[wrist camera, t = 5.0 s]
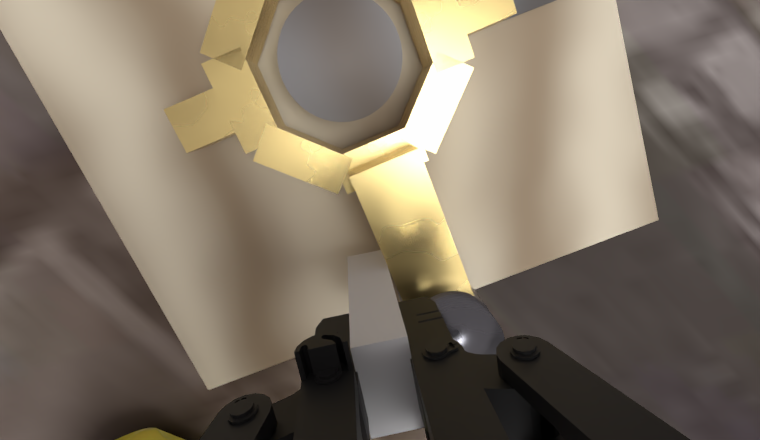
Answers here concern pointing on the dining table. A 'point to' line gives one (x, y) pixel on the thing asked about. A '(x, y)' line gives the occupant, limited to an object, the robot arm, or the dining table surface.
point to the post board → (342, 129)
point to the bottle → (149, 435)
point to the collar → (360, 144)
